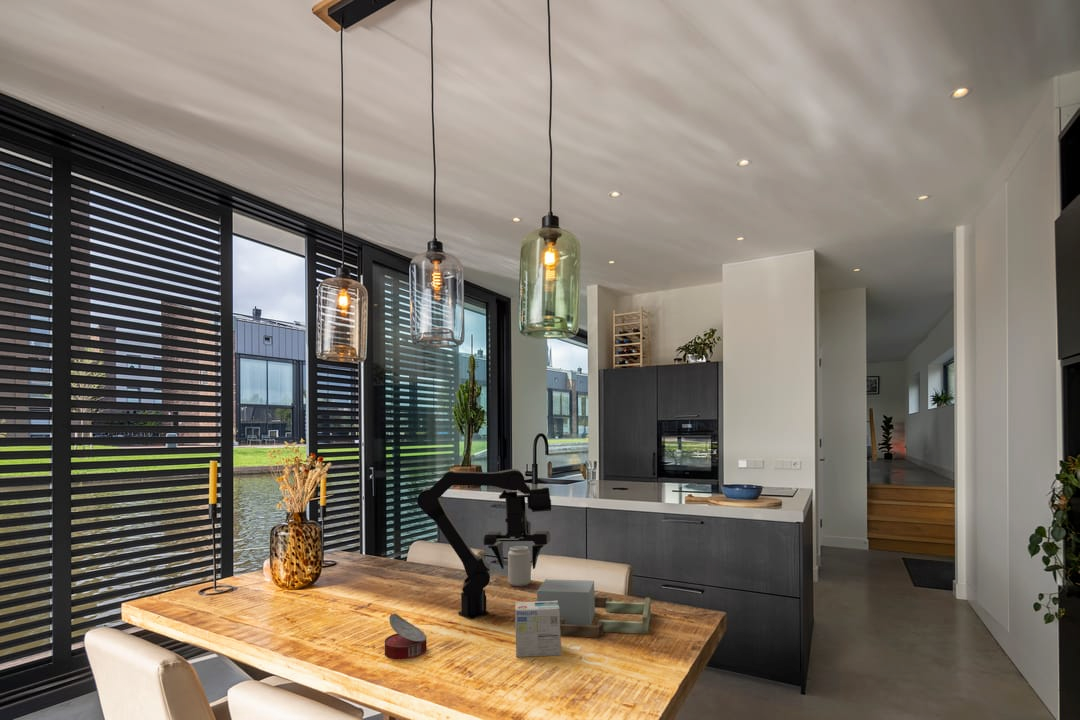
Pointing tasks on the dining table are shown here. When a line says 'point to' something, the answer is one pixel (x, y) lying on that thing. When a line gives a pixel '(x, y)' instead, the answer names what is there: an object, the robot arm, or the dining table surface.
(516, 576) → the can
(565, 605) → the block
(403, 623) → the canned food
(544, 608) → the light bulb box
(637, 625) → the lane
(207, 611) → the dining table surface
